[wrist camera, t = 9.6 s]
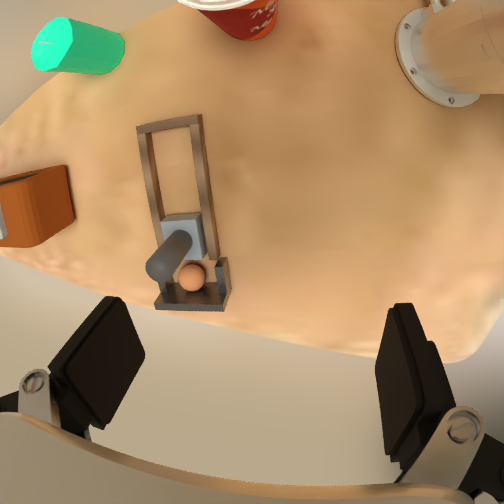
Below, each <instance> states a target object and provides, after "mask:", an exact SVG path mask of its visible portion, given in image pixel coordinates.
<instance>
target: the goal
mask: <svg viewBox="0 0 504 504" xmlns="http://www.w3.org/2000/svg"><path fill="white" fill-rule="evenodd" d="M215 272H216V278H217V283H204V284H203V286H202V287H201V288H200V289H198V290H196V291H188V290H185V289H184V288H183V287H182V286H181V285H180V283H174V281H173V277H172V276H171V278H170V279H169V280H168V281H166V282H158V284H159V288H160V291H161V293H160V295H159V296H158V298H157V299H156V301H155V302H154V306H155V309H156V310H176V311H222V312H224V310H225V307H226V304H227V301H228V298H229V295H230V292H231V289H232V288H231V282H230V275H229V268H228V261H227V258H219V259H218V261H217V263H216V266H215Z"/></svg>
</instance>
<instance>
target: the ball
mask: <svg viewBox="0 0 504 504" xmlns="http://www.w3.org/2000/svg"><path fill="white" fill-rule="evenodd" d="M178 279H179V283H180V285H181V286H182V287H183V288H184V289H185V290H188V291H196V290H198V289H200V288H201V287H202V286H203V284H204V282H205V274H204V271H203V270H202V269H201V268H200V267H199V266H197V265H194V264H189V265H186V266H184V267H183V268H182V269H181V270H180V272H179V276H178Z"/></svg>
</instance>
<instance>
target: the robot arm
mask: <svg viewBox="0 0 504 504" xmlns="http://www.w3.org/2000/svg"><path fill="white" fill-rule="evenodd" d="M445 2H446V6H445V7H444V6H443V5H441V2H440V0H430V3H431V4H430V5H429V7H423V8H418V9H416V10H413V11H411V12H410V13H408V14H407V15H406V16H405V17H404V18H403V19H402V20H401V22H400V24H399V25H398V28H397V32H396V39H395V45H396V53H397V56H398V59H399V63H400V65H401V67H402V69H403V71H404V73H405V75H406V76H407V78H408V79H409V81H410V82H411V83H412V84H413V85H414V87H415V88H416V89H417V90H418V91H419V92H420V93H422V94H423V95H424V96H425V97H427V98H428V99H430V100H431V101H433V102H435V103H438V104H440V105H443V106H447V107H465V106H467V105H470V104H472V103H473V102H475V101H476V100H477V99H478V98H479V97H480V96H481V94H504V0H445ZM404 27H406V29H407V30H406V29H405V28H404ZM410 70H411V71H412V72H413V74H411V72H410ZM448 99H449V100H448ZM144 359H145V351H144V349H143V346H142V344H141V342H140V339H139V337H138V334H137V332H136V329H135V327H134V325H133V322H132V319H131V317H130V315H129V312H128V309H127V306H126V304H125V302H124V301H122V299H121V298H120V297H113V296H106V297H104V298H103V299H102V301H101V302H100V303H99V304H98V305H97V306H96V307H95V309H94V310H93V311H92V312H91V313H90V315H89V316H88V317H87V318H86V319H85V320H84V322H83V323H82V324H81V325H80V327H79V328H78V329H77V330H76V331H75V333H74V334H73V335H72V336H71V337H70V339H69V340H68V341H67V342H66V344H65V345H64V346H63V347H62V349H61V350H60V351H59V353H58V354H57V355H56V356H55V358H54V359H53V360H52V362H51V363H50V364H49V365H48V368H49V370H50V371H51V373H50V375H49V374H48V373H47V372H46V371H45V370H43V369H35V370H32V371H30V372H29V373H27V374H26V375H25V376H24V377H23V378H22V380H21V382H20V386H19V391H16V392H14V393H11V394H8V395H5V396H3V397H0V504H504V444H503V443H501V442H499V441H498V440H496V439H494V438H492V437H490V436H489V435H487V434H485V422H484V420H483V417H482V416H481V415H480V414H479V412H478V411H476V410H475V409H473V408H470V407H467V406H458V407H456V403H455V401H454V397H453V394H452V390H451V387H450V384H449V381H448V378H447V375H446V373H445V370H444V367H443V364H442V361H441V358H440V356H439V353H438V350H437V348H436V345H435V343H434V342H433V341H427V339H426V336H425V333H424V331H423V328H422V326H421V323H420V321H419V318H418V316H417V313H416V311H415V308H414V306H413V304H412V303H396V304H395V305H394V307H393V308H389V310H388V314H387V319H386V323H385V327H384V332H383V336H382V340H381V344H380V348H379V352H378V356H377V360H376V364H375V376H376V382H377V389H378V396H379V403H380V411H381V419H382V429H383V438H384V449H385V454H386V455H390V459H391V462H400V469H401V470H403V471H402V472H401V474H400V475H399V476H398V477H397V479H396V480H395V481H394V483H388V484H371V485H353V486H352V485H351V486H294V485H293V486H292V485H276V484H264V483H253V482H245V481H238V480H230V479H224V478H218V477H212V476H206V475H201V474H196V473H192V472H187V471H182V470H178V469H174V468H170V467H166V466H163V465H159V464H155V463H152V462H148V461H145V460H142V459H138V458H135V457H132V456H129V455H126V454H123V453H120V452H117V451H114V450H112V449H109V448H106V447H103V446H101V445H98V444H96V443H93V442H92V441H91V437H90V433H89V428H88V427H89V425H90V424H91V425H92V426H93V427H96V428H99V429H101V430H104V428H105V426H106V424H109V423H110V422H111V420H112V418H113V416H114V414H115V412H116V411H117V409H118V407H119V405H120V403H121V401H122V399H123V397H124V396H125V394H126V392H127V390H128V388H129V386H130V385H131V383H132V381H133V379H134V377H135V376H136V374H137V372H138V370H139V368H140V367H141V365H142V363H143V361H144Z"/></svg>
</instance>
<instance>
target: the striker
mask: <svg viewBox="0 0 504 504" xmlns="http://www.w3.org/2000/svg"><path fill="white" fill-rule="evenodd" d="M160 223H161V228H162V233H163V238H164V243H163V244H162V245H161V246H160V247H159V248H158V249H157V250H156V252H155V253H154V254H153V255H152V256H151V257H150V258H149V259H148V261H147V262H146V272H147V274H148V275H149V276H150V278H152V279H153V280H155V281H157V282H166V281H168V280H169V279H170V278H171V276H172V275H173V273H174V272H175V270H176V269H177V267H178V266H179V264H180V263H181V262H182V260H203V258H204V256H205V255H206V253H207V251H208V250H207V244H206V238H205V232H204V226H203V220H202V213H189V214H177V215H167V216H166V217H165V218H164V219H163V220H162V221H161V222H160Z"/></svg>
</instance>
